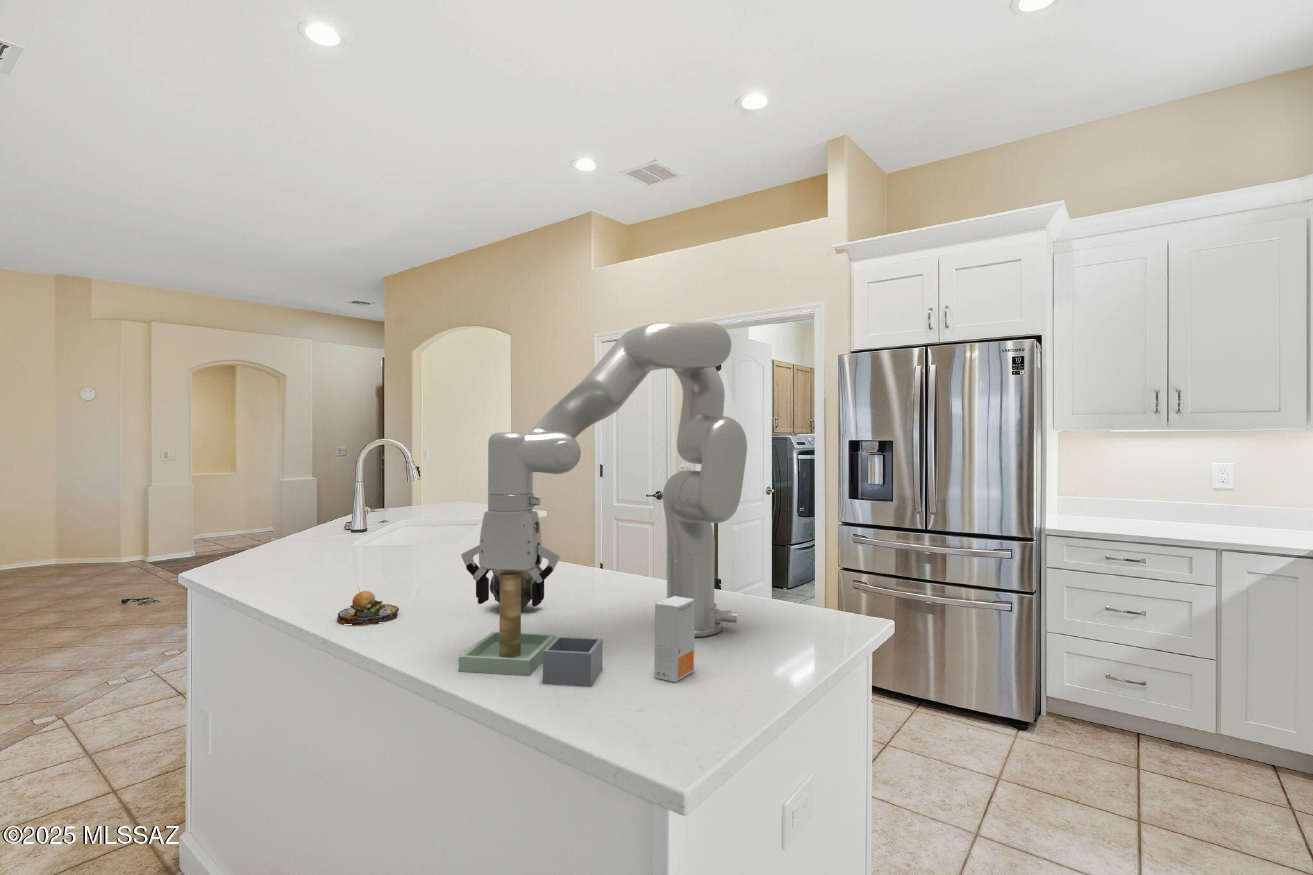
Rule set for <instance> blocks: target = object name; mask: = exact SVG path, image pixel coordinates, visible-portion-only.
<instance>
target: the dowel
mask: <svg viewBox="0 0 1313 875" xmlns="http://www.w3.org/2000/svg"><path fill="white" fill-rule="evenodd" d="M498 619H499V622H498V623H499V628H498V629H499V631H498V632H499V656H500V657H505V658H513V657H517V656H519V655H521V633H522V628H521V627H522V608H521V572H519V571H506V572H501V573H500V603H499V618H498Z"/></svg>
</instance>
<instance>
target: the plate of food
mask: <svg viewBox="0 0 1313 875" xmlns="http://www.w3.org/2000/svg"><path fill="white" fill-rule="evenodd" d="M357 588H358V590H359V592H358V593H356V594H355V595H354V596H353V598H352V602H351V603H352V604H351V605H350V607H347V608H344V609H342V610H340V611H339V612H338V613H337V623H338V624H342V625H343V624H352V625H350V627H351V626H352V627H353V626H355V627H357V626H368V625H367V624H373V625H379V622H385V623H388V622H390V621H393V620H396V619H397V617H398V612H399V611H400V608H399V607H398V606H396V605H392V604H383V600H380V601H379V600H377V599H376V596H375V594H374V593H373V592H371V591H369V590H368V591H367V590H364V591H361V590H360V588H359V587H358V586H357Z"/></svg>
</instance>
